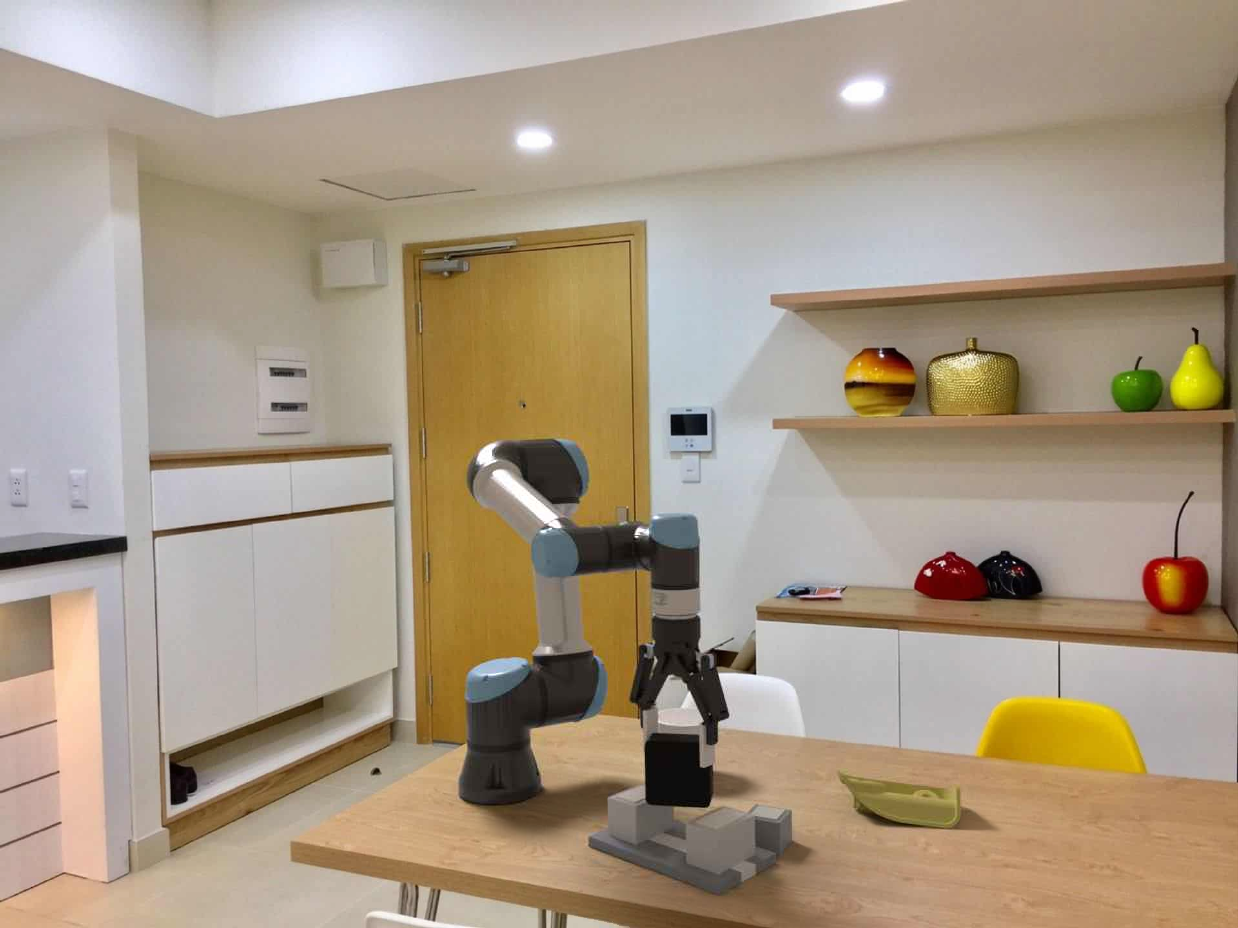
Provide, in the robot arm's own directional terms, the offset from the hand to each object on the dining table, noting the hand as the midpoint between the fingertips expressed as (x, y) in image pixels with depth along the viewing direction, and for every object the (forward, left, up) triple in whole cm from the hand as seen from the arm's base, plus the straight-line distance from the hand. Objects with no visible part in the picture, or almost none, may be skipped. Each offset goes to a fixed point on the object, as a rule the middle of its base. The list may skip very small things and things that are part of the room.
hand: (678, 757), depth 155 cm
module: (+8, +12, -15) cm, 21 cm away
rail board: (0, 0, -15) cm, 15 cm away
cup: (-23, +29, -15) cm, 40 cm away
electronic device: (0, 0, -7) cm, 7 cm away
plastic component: (+17, +38, -16) cm, 44 cm away
